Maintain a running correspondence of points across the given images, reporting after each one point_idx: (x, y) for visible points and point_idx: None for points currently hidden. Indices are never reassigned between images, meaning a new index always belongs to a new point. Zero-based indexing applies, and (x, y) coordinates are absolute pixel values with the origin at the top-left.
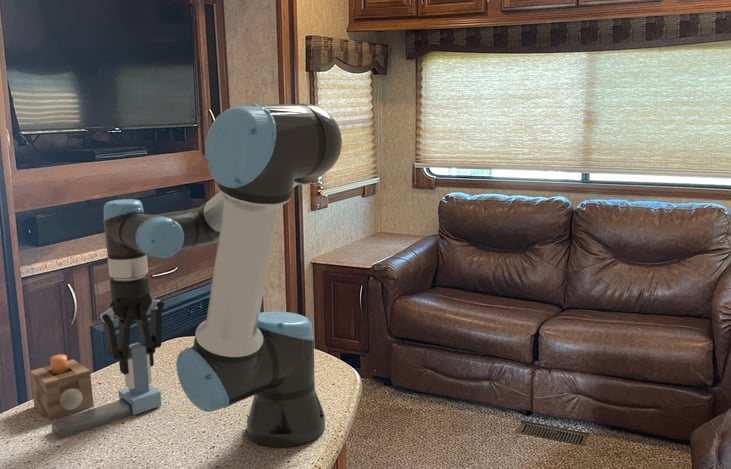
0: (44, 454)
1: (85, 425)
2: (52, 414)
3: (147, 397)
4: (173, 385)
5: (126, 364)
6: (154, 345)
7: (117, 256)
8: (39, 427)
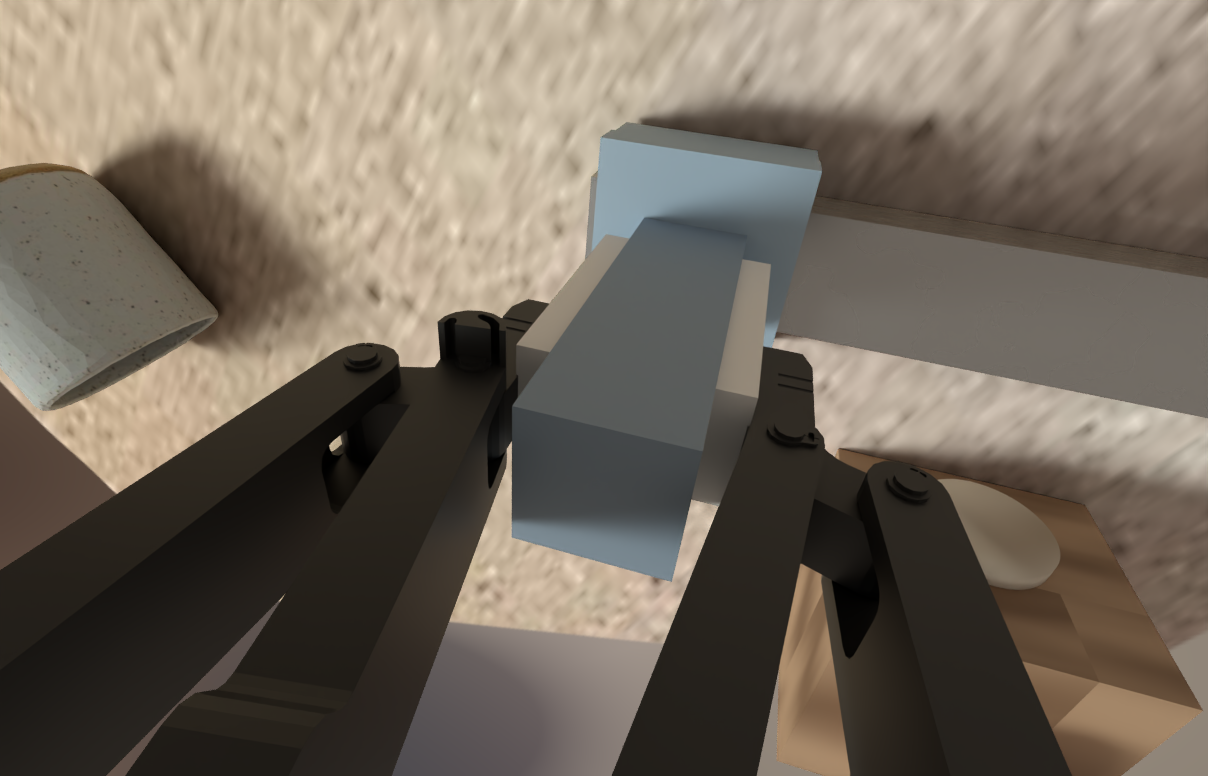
0: None
1: (1144, 256)
2: (1077, 519)
3: (707, 151)
4: (441, 306)
5: (767, 397)
6: (406, 389)
7: None
8: (1192, 488)
